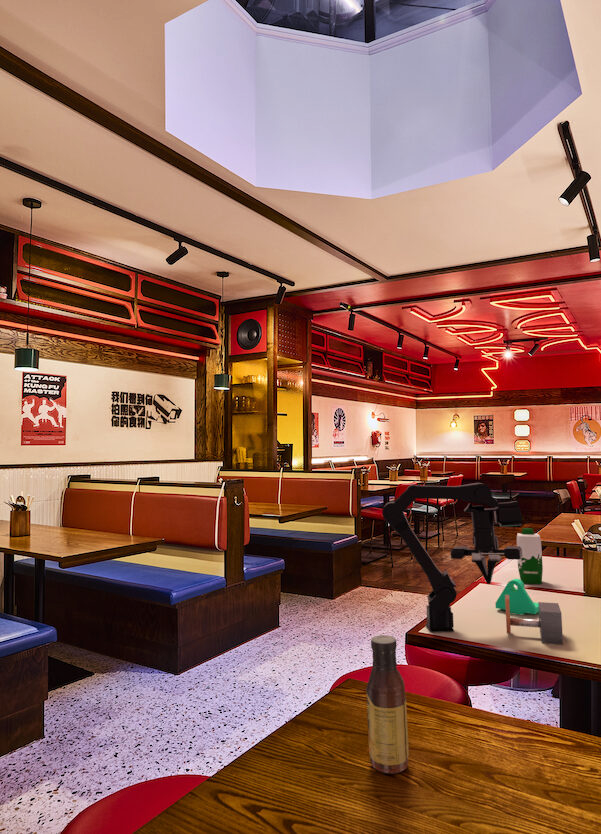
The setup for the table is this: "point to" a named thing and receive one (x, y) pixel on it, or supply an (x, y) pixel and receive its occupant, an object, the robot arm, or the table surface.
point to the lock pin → (518, 619)
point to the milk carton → (530, 557)
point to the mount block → (550, 623)
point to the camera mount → (517, 599)
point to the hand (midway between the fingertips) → (489, 583)
